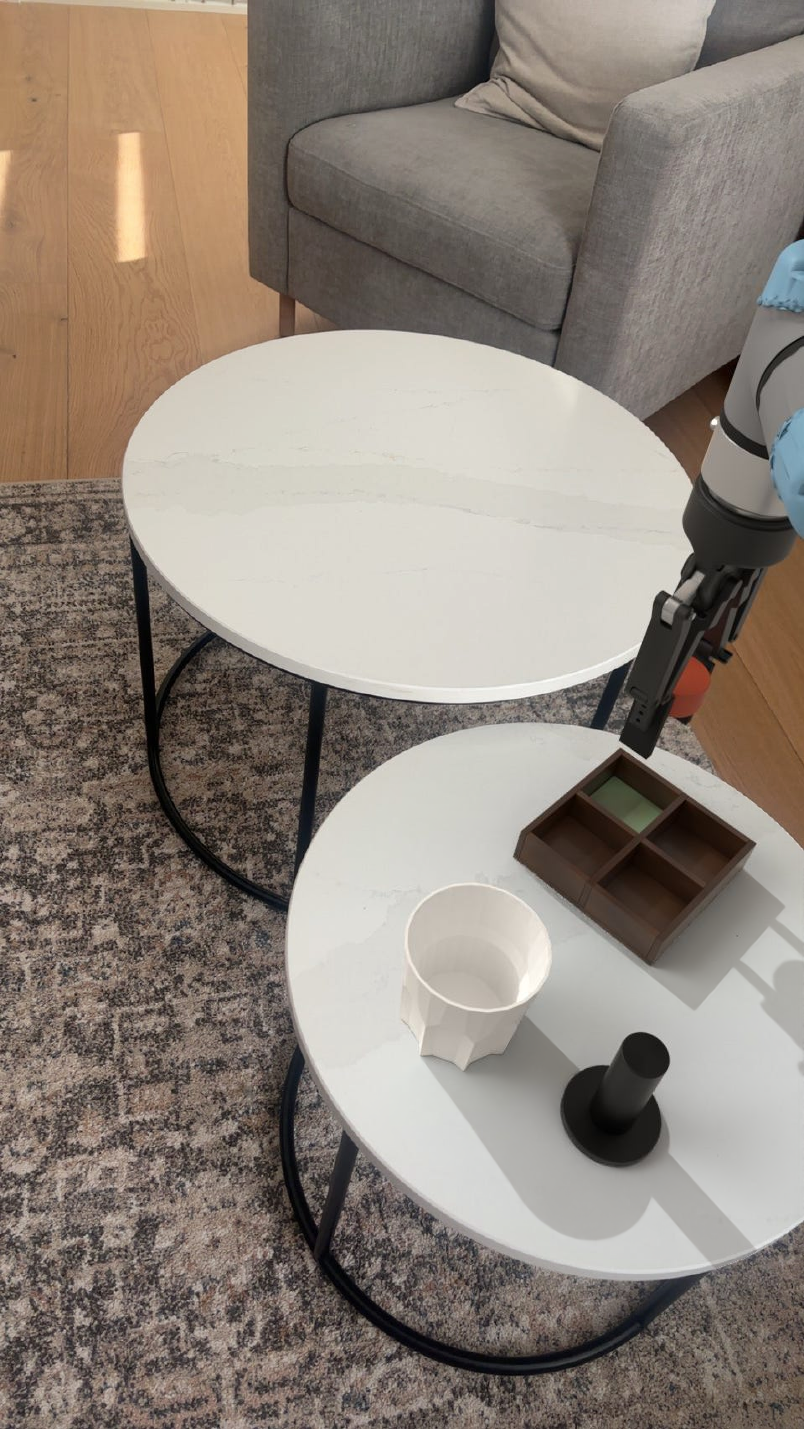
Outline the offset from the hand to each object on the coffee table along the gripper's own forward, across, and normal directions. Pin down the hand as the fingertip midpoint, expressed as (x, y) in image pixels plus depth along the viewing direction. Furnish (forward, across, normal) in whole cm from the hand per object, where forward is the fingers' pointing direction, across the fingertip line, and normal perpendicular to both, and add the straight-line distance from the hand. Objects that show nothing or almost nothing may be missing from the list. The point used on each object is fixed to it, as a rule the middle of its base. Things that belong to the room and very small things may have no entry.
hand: (655, 730), depth 88 cm
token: (-4, 0, 0) cm, 4 cm away
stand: (+11, +23, +16) cm, 30 cm away
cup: (+11, +25, +3) cm, 28 cm away
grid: (+11, +4, +4) cm, 12 cm away
